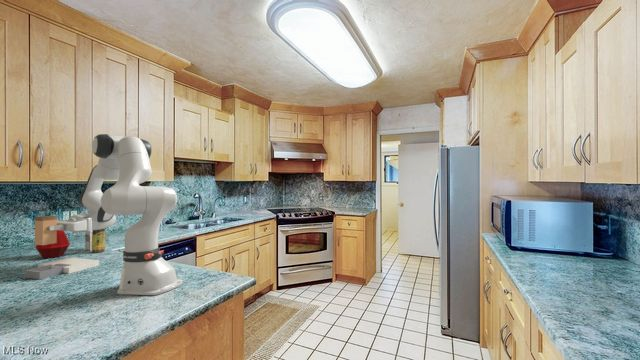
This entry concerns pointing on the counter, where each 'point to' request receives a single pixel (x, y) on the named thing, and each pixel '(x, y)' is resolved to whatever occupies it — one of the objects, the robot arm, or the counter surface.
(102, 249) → the sauce bottle
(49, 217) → the tan upright wooden block
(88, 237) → the syrup box
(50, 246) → the red faceted jar
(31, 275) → the white slab
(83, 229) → the robot arm
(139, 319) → the counter surface
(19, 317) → the counter surface
